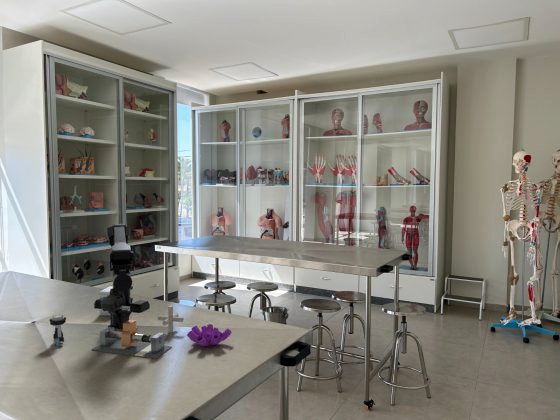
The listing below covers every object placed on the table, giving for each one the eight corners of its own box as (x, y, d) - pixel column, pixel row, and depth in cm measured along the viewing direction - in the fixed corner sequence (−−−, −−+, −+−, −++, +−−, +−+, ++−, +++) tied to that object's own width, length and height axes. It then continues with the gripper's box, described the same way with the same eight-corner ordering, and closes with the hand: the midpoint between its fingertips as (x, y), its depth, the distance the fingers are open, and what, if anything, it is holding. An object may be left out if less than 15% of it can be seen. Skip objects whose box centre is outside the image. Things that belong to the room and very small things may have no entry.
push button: (70, 345, 149) (69, 317, 149) (53, 349, 146) (52, 320, 145) (64, 340, 154) (63, 313, 153) (48, 343, 150) (47, 316, 150)
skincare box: (114, 315, 183) (113, 291, 182) (99, 315, 183) (98, 291, 182) (123, 308, 193) (123, 286, 193) (109, 308, 194) (109, 285, 193)
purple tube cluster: (218, 360, 146) (206, 343, 141) (189, 349, 155) (177, 333, 150) (236, 333, 152) (225, 316, 147) (207, 325, 161) (196, 308, 156)
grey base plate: (91, 350, 145) (91, 348, 145) (110, 339, 155) (110, 338, 155) (156, 358, 138) (156, 357, 138) (171, 347, 148) (171, 346, 148)
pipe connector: (177, 337, 158) (177, 310, 157) (152, 335, 160) (152, 309, 159) (188, 328, 168) (188, 303, 167) (164, 326, 170) (164, 302, 169)
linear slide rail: (100, 346, 147) (100, 331, 147) (109, 341, 152) (109, 326, 152) (156, 354, 141) (156, 338, 141) (164, 348, 146) (164, 333, 146)
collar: (121, 346, 145) (121, 323, 144) (130, 340, 150) (130, 319, 149) (129, 347, 144) (128, 324, 143) (138, 341, 149) (137, 319, 148)
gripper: (82, 288, 141) (83, 334, 142) (130, 292, 136) (131, 340, 137) (104, 280, 152) (105, 323, 153) (150, 284, 147) (150, 328, 148)
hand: (122, 329), depth 147 cm, fingers closed
